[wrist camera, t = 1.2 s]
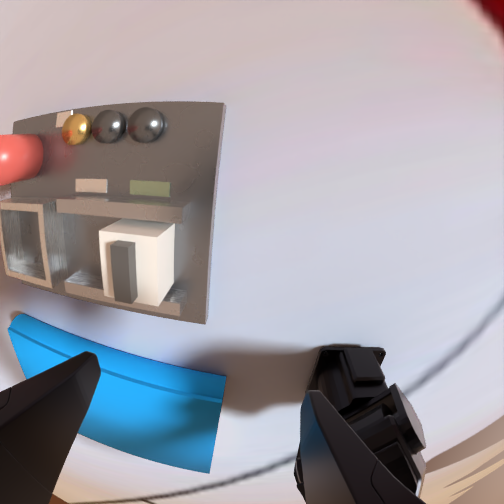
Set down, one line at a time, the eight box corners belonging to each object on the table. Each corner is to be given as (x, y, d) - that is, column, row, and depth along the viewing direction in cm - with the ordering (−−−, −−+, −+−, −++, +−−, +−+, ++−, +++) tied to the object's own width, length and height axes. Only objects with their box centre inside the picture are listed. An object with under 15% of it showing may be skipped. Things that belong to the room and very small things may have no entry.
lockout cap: (42, 178, 18) (1, 188, 13) (16, 179, 18) (-23, 189, 13) (45, 131, 16) (3, 132, 12) (18, 136, 16) (-22, 139, 12)
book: (211, 474, 27) (44, 419, 26) (214, 448, 31) (56, 400, 30) (223, 398, 21) (3, 326, 20) (227, 365, 25) (24, 308, 24)
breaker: (173, 283, 20) (153, 314, 16) (125, 275, 20) (97, 302, 16) (174, 223, 19) (150, 242, 14) (123, 217, 19) (90, 235, 14)
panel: (208, 316, 22) (199, 343, 19) (29, 278, 22) (7, 293, 19) (226, 106, 17) (217, 94, 14) (22, 122, 17) (-5, 122, 13)
